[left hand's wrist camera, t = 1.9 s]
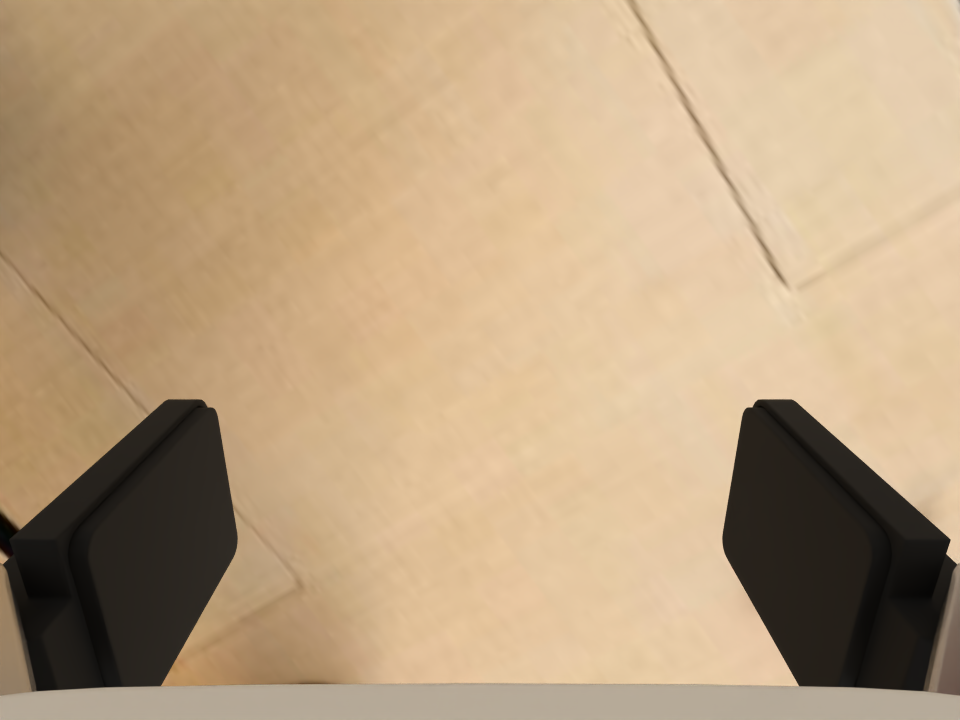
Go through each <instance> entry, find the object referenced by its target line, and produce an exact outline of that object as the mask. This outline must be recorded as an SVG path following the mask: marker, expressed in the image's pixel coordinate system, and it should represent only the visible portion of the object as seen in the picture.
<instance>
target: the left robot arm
mask: <svg viewBox="0 0 960 720" xmlns="http://www.w3.org/2000/svg"><path fill="white" fill-rule="evenodd" d="M237 539H238V538H237V529H236V523H235V517H234V511H233V505H232V499H231V493H230V487H229V481H228V475H227V469H226V463H225V457H224V451H223V445H222V439H221V433H220V427H219V421H218V416H217V413H216V411H215V409H214V408H207V406H206V404H205V402H204V401H203V400H166V401H165V402H163V403H162V404H161V405H160V406H159V407H158V408H157V409H156V410H154V411H153V412H152V413H151V414H150V415H149V416H148V417H147V418H145V419H144V420H143V421H142V422H141V423H140V424H139V425H138V426H136V427H135V428H134V429H133V430H132V431H131V432H130V433H129V434H127V435H126V436H125V437H124V438H123V439H122V440H121V441H120V442H119V443H117V444H116V445H115V446H114V447H113V448H112V449H111V450H110V451H108V452H107V453H106V454H105V455H104V456H103V457H102V458H101V459H99V460H98V461H97V462H96V463H95V464H94V465H93V466H92V467H90V468H89V469H88V470H87V471H86V472H85V473H84V474H83V475H81V476H80V477H79V478H78V479H77V480H76V481H75V482H74V483H72V484H71V485H70V486H69V487H68V488H67V489H66V490H65V491H63V492H62V493H61V494H60V495H59V496H58V497H57V498H56V499H55V500H53V501H52V502H51V503H50V504H49V505H48V506H47V507H46V508H44V509H43V510H42V511H41V512H40V513H39V514H38V515H37V516H35V517H34V518H33V519H32V520H31V521H30V522H29V523H28V524H26V525H25V526H24V527H23V528H22V529H21V530H20V531H19V532H17V533H16V534H15V535H14V536H13V537H12V538H11V539H10V543H11V546H12V549H13V553H14V555H13V556H11V557H10V558H9V559H8V560H7V561H6V562H5V563H4V564H3V565H2V564H1V563H0V720H960V563H959V564H958V565H957V564H956V563H955V562H954V561H953V560H952V559H951V558H950V557H949V556H947V555H946V553H947V549H948V546H949V543H950V539H949V538H948V537H947V536H946V535H945V534H944V533H943V532H941V531H940V530H939V529H938V528H937V527H936V526H935V525H934V524H932V523H931V522H930V521H929V520H928V519H927V518H926V517H925V516H923V515H922V514H921V513H920V512H919V511H918V510H917V509H916V508H914V507H913V506H912V505H911V504H910V503H909V502H908V501H907V500H905V499H904V498H903V497H902V496H901V495H900V494H899V493H898V492H897V491H895V490H894V489H893V488H892V487H891V486H890V485H889V484H888V483H886V482H885V481H884V480H883V479H882V478H881V477H880V476H879V475H877V474H876V473H875V472H874V471H873V470H872V469H871V468H870V467H868V466H867V465H866V464H865V463H864V462H863V461H862V460H861V459H859V458H858V457H857V456H856V455H855V454H854V453H853V452H852V451H850V450H849V449H848V448H847V447H846V446H845V445H844V444H843V443H841V442H840V441H839V440H838V439H837V438H836V437H835V436H834V435H833V434H831V433H830V432H829V431H828V430H827V429H826V428H825V427H824V426H822V425H821V424H820V423H819V422H818V421H817V420H816V419H815V418H813V417H812V416H811V415H810V414H809V413H808V412H807V411H806V410H804V409H803V408H802V407H801V406H800V405H799V404H798V403H797V402H795V401H794V400H757V401H756V402H755V404H754V406H753V408H746V409H745V411H744V413H743V416H742V421H741V427H740V433H739V439H738V445H737V451H736V457H735V463H734V469H733V475H732V481H731V487H730V493H729V499H728V505H727V511H726V517H725V523H724V529H723V538H722V539H723V549H724V552H725V555H726V557H727V559H728V561H729V563H730V564H731V566H732V568H733V570H734V571H735V573H736V575H737V577H738V578H739V580H740V582H741V584H742V586H743V587H744V589H745V591H746V593H747V594H748V596H749V598H750V600H751V601H752V603H753V605H754V607H755V609H756V610H757V612H758V614H759V616H760V617H761V619H762V621H763V623H764V625H765V626H766V628H767V630H768V632H769V633H770V635H771V637H772V639H773V640H774V642H775V644H776V646H777V648H778V649H779V651H780V653H781V655H782V656H783V658H784V660H785V662H786V663H787V665H788V667H789V669H790V671H791V672H792V674H793V676H794V678H795V679H796V681H797V683H798V685H799V686H752V685H700V684H511V683H449V684H260V685H208V686H161V685H162V683H163V681H164V679H165V678H166V676H167V674H168V672H169V671H170V669H171V667H172V665H173V663H174V662H175V660H176V658H177V656H178V655H179V653H180V651H181V649H182V648H183V646H184V644H185V642H186V640H187V639H188V637H189V635H190V633H191V632H192V630H193V628H194V626H195V625H196V623H197V621H198V619H199V617H200V616H201V614H202V612H203V610H204V609H205V607H206V605H207V603H208V601H209V600H210V598H211V596H212V594H213V593H214V591H215V589H216V587H217V586H218V584H219V582H220V580H221V578H222V577H223V575H224V573H225V571H226V570H227V568H228V566H229V564H230V563H231V561H232V559H233V557H234V555H235V552H236V549H237Z"/></svg>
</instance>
